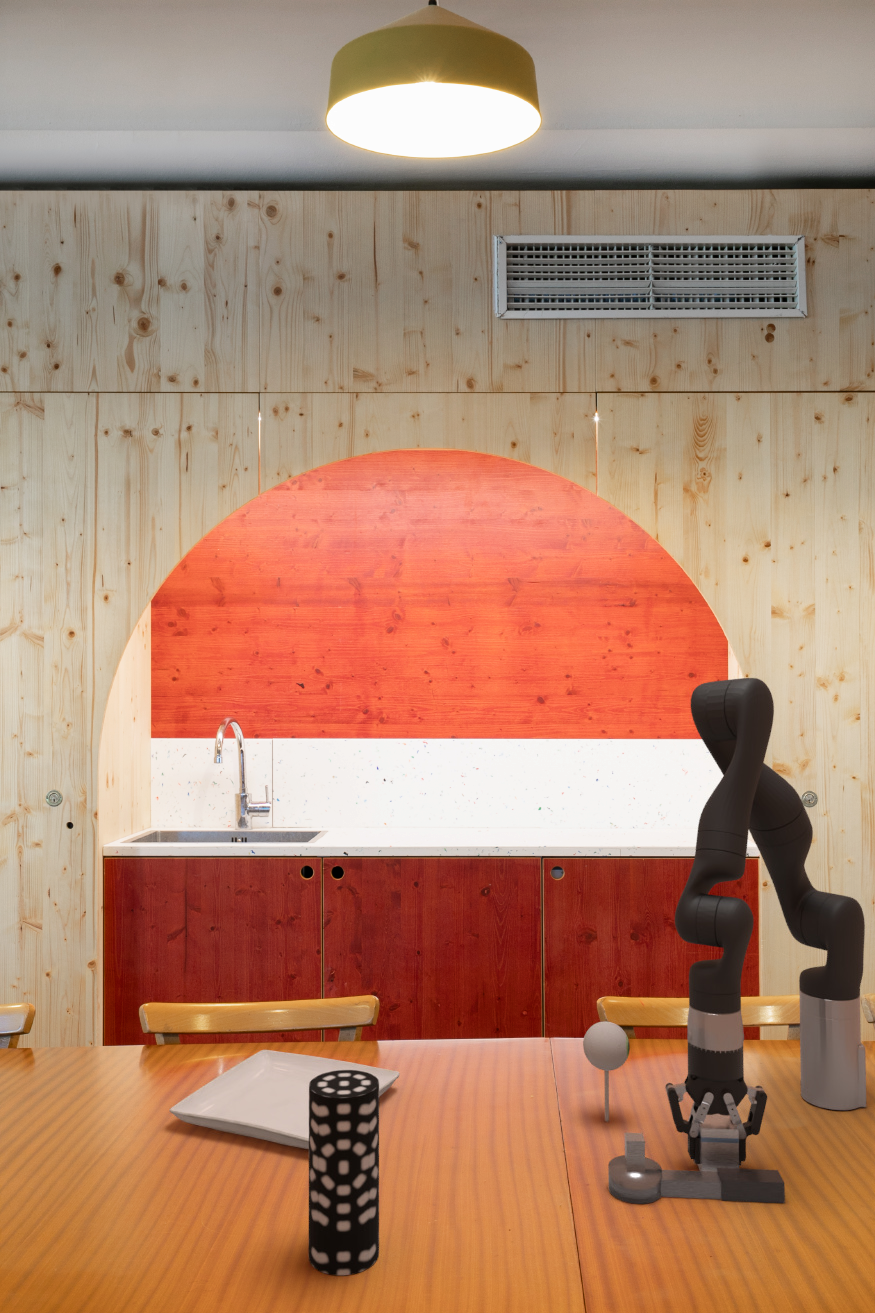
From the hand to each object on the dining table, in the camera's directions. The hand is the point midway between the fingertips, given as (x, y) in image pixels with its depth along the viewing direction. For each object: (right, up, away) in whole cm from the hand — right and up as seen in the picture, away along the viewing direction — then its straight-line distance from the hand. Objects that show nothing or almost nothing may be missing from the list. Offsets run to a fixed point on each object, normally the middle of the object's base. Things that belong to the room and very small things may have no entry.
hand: (716, 1162), depth 137 cm
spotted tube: (-50, -1, -21) cm, 54 cm away
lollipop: (-13, -2, +15) cm, 20 cm away
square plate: (-63, -2, +20) cm, 66 cm away
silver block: (0, -1, 0) cm, 1 cm away
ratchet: (-5, -1, -7) cm, 8 cm away
